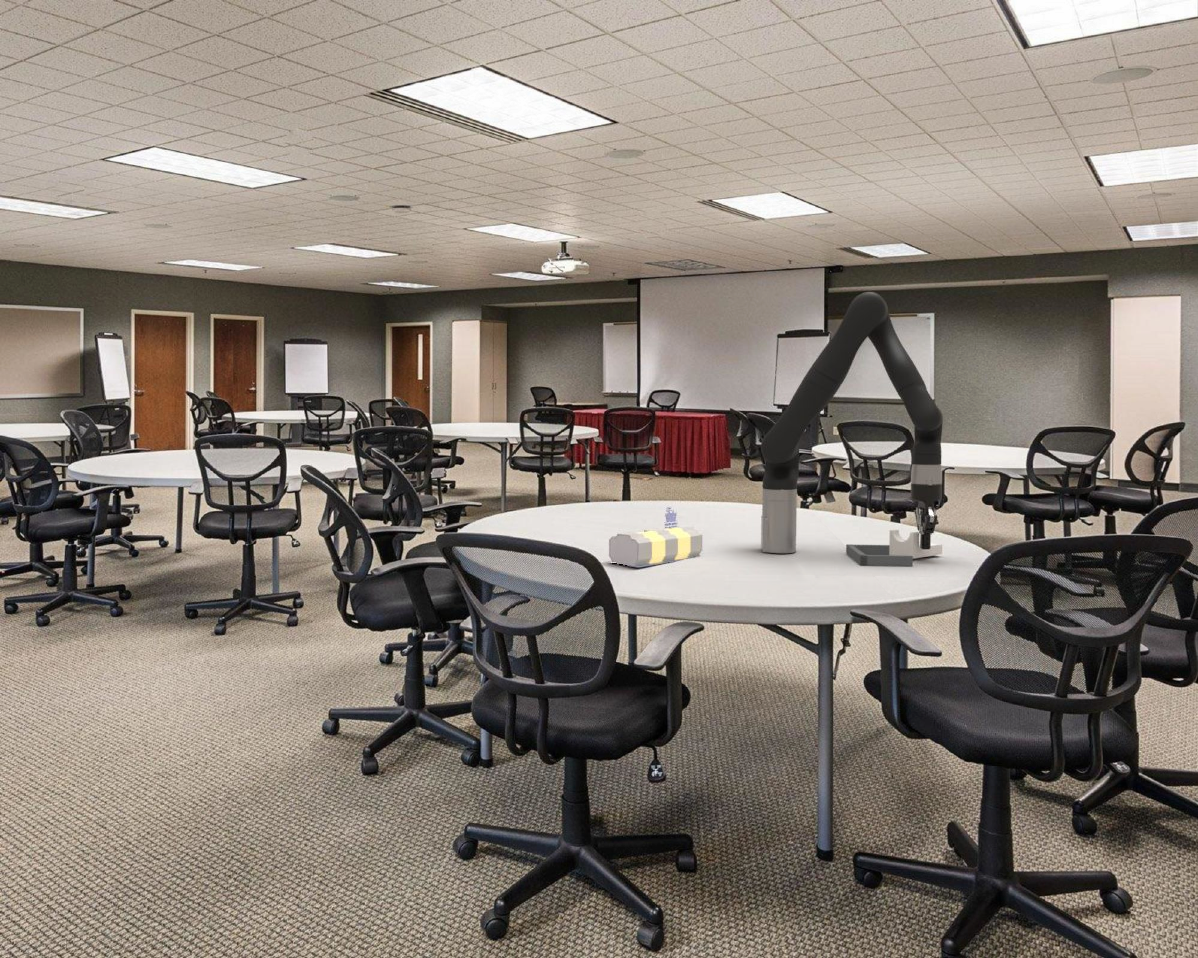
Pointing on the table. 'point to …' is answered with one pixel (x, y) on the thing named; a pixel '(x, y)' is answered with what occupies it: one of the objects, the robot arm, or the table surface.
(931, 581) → the table surface
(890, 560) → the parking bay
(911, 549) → the bracket
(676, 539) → the grey yellow banded block
